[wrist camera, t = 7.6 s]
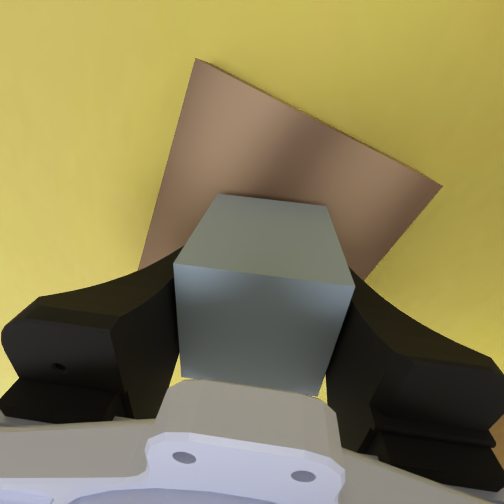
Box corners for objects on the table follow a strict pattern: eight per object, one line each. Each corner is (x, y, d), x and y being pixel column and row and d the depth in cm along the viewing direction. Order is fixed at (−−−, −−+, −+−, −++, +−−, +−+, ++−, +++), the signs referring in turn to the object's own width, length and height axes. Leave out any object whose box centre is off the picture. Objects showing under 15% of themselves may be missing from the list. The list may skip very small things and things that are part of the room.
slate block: (326, 205, 13) (355, 286, 7) (306, 292, 15) (317, 396, 10) (217, 193, 13) (173, 263, 8) (215, 280, 15) (181, 376, 10)
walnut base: (419, 172, 15) (443, 186, 13) (306, 319, 21) (309, 345, 19) (209, 63, 13) (195, 57, 11) (152, 255, 19) (136, 276, 17)
